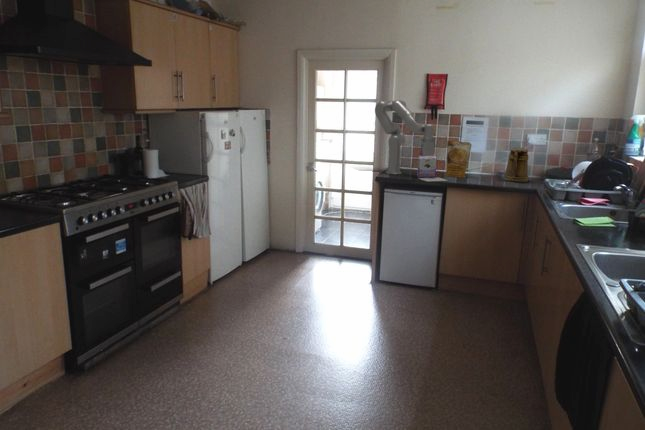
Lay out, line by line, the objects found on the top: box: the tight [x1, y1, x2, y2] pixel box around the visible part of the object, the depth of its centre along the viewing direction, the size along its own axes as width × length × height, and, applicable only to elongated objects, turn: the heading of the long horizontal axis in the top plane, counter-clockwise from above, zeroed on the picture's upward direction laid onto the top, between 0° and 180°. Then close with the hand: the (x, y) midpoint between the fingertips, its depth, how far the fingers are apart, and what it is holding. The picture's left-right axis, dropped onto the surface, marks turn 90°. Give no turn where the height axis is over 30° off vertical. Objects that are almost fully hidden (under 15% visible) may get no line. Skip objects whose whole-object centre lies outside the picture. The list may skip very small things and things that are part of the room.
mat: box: [417, 177, 449, 183], centre depth 367 cm, size 14×18×1 cm
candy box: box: [417, 155, 438, 178], centre depth 373 cm, size 14×6×16 cm, turn 84°
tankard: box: [503, 147, 530, 183], centre depth 368 cm, size 18×24×25 cm
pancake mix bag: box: [445, 140, 472, 179], centre depth 381 cm, size 7×19×28 cm, turn 53°
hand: (426, 164), depth 376 cm, fingers closed
